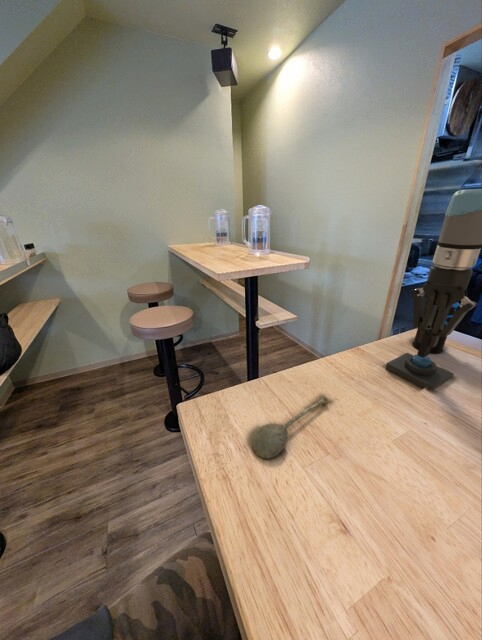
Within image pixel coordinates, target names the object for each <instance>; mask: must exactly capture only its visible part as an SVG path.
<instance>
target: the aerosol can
mask: <svg viewBox="0 0 482 640" xmlns="http://www.w3.org/2000/svg"><path fill="white" fill-rule="evenodd" d="M427 302H428V300H427V297H426V298H424V315H425V312H426V308H427V307H426V305H427ZM459 305H460V303H459V302H457V303H455V304H454V305H452V307H451V309H450V310H449V313H448V316H447V319H446V322H445V325H444V327H443V329H444V328H445V326H446V325H447V324H448V322H449V321H450V320H451V318H452V317H453V316H454V314H455V313H456V312H457V310H458V307H460V306H459ZM438 308H439V305H438V307H437V310H436V313H435V316H434V319H433V322H432V325H431V329H430V330H429V331H431V332H432V329H433V326H434V323H435V320H436V317H437V314H438ZM419 334H420V330H419V329H418V328H416V333H415V336H414V340H413V341H412V342H411V345H412V347H413V348H415V349H416V350H417V351H419V347H420V344H421V343H419V342H418V337H419ZM447 338H448V336H446V337H441V336H440V337H439V339H438V342H437V345H436V346H434V347H433V348H432V347H431V349H430V352H429V355H438V354H442V353H443V352H444V346H445V344H446V341H447Z"/></svg>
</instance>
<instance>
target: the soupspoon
mask: <svg viewBox="0 0 482 640" xmlns="http://www.w3.org/2000/svg"><path fill="white" fill-rule="evenodd" d="M329 402H330V401H329V398H328V397H326V396H323V397H322V398H321V400H319V401H316V402H315V403H313V404H312V405H310V406H309V407H307V408H306V409H304V410H303V411H301V412H300V413H298V414H297V415H295V416H294V417H292V418H291V419H289V420H288V421H287V422H286V423H284V424H283V425H281V424H279V423H266V424H264V425H262V426H260V427H259V428H258V429H257V430H256V431H255V433H254V434H253V437H252V441H251V445H252V449H253V451H254V453H255V454H256V455H257V456H258V457H259V458H262V459H265V460H270V459H273V458H274V457H276V456H277V455H279V454H280V453H281V452H282V451H283V449H284V448H285V447H286V444H287V442H288V437H289V434H288V430H287V429H288V428H289V427H291V425H293V424H294V423H295V422H296V421H297V420H299V419H300V418H302V417H303V416H305V415H306V414H308V412H310V411H311V410H313V409H315V408H316V407H319V406H321V405H328V404H329Z"/></svg>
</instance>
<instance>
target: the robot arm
mask: <svg viewBox="0 0 482 640" xmlns="http://www.w3.org/2000/svg"><path fill="white" fill-rule="evenodd" d="M444 215H445V216H444V220H443V223H442V227H441V230H440V234H439V238H438V241H437V245H436V248H435V252H434V255H433V259H432V260H431V261H432V264H433V265H431V266H430V269H429V271H428V274H427V279H426V282H425V283H424V284H423V286H422V287H418V288H414V289H412V290H411V291H410V294H411V297H412V299H413V312H412V313H413V315H412V316H413V317H412V319H413V322H412V323H413V324H412V325H413V327H414V328H416V329H419V330H420V334H419V337H418V342H419V343H421V344H420V347H419V350H417V355H418V356H420V357H422V358H424V357H426V356H427V357H428V356H429V355H430V353H429V352H430V349H431V347H432V348H433V347H434V346H436V345H437V342H438V339H439V337H440V336H441V337H446V336H447V337H448V336H449V335H451V334H452V333H453V332H454V331H455V328H457V326H458V325H459V324H460V322H461V321H462V320H463V318H464V317H465V316H466V314H467V313H468V312H469V311H471V310H472V309H473V308H475V307H477V305H478V303H477V302H476V301H472V300H471V299H470V298H469V297H467V296H468V291H467V288H468V285H469V283H470V280H471V277H472V275H473V272H474V270H473V269H472V268H473V267H475V266H476V265H477V261H478V259H479V256H480V252H481V250H482V188H472V189H471V188H469V189H460V190H458V191H455V193H454V194H452V196H451V199H450V201H449V204H448V207H447V209H446V211H445V214H444ZM424 296H425V297H426V298H427V300H428V302H427V305H426V307H427V308H426V312H425V315H424V305H425V297H424ZM457 302H458V303H459V302H460V303H459V306H458V307H459V308H457V310H456V313H455V314H454V316H453V317H452V318H451V320H450V321H449V322H448V324H447V325H446V326H445V328H444V329H443V327H444V325H445V322H446V319H447V316H448V313H449V310H450V309H451V307H452V305H454V304H455V303H457ZM438 305H439V308H438V314H437V317H436V320H435V323H434V326H433V329H432V332H431V331H429V330H430V329H431V325H432V322H433V319H434V316H435V313H436V310H437V307H438Z"/></svg>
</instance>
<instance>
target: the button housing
mask: <svg viewBox="0 0 482 640" xmlns="http://www.w3.org/2000/svg"><path fill="white" fill-rule="evenodd" d="M414 355H415V354H411V353H409V352H405V353H404V354H402V355H400V356H398V357H396V358H393V359H392V360H390V361H388V362H386V364H385V368H384V369H385V370H386V371H388V372H390V373H391V374H392V375H395V376H397V377H399V378H401V379H403V380H404V381H406V382H408V383H410V384H411V385H413V386H416V387H417V388H419V389H421V390H424V389H427V390H429V391H432V392H433V391H435V390H436V389H437V388H439V387H441V386H442V385H443V384H445V383H446V382H448V381H449V380H451V379H452V378H453V377H454V375H455V373H454V372H452V371H450V370H447V369H445V368H442V367H440V366H438V365H437V364H436V363H435V361H433V360H432V359H431V363H430V366H429V367H428V368H424V367H419V366H417V365H415V364H413V363H412V359H413V356H414Z"/></svg>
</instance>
